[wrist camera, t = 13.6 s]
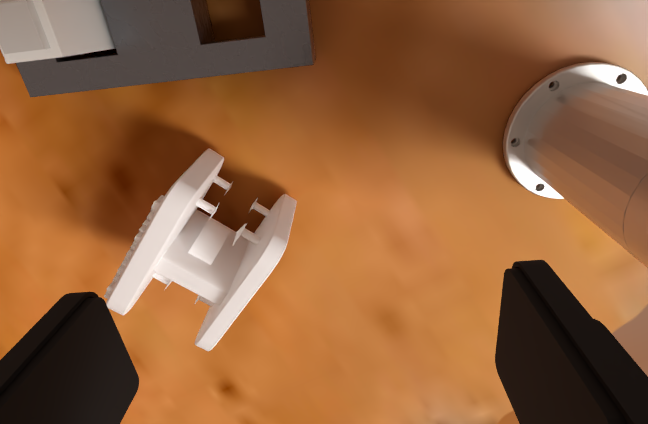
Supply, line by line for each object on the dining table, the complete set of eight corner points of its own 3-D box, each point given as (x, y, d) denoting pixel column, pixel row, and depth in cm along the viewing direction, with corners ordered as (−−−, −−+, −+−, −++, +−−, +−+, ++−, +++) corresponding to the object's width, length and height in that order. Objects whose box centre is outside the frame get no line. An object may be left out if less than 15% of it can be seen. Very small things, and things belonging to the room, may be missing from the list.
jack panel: (299, -83, 31) (293, -96, 27) (315, 59, 35) (312, 65, 31) (9, -41, 33) (-34, -48, 29) (60, 88, 37) (28, 97, 33)
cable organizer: (232, 288, 47) (201, 367, 37) (149, 243, 45) (91, 314, 34) (301, 193, 41) (288, 255, 31) (210, 136, 39) (162, 181, 28)
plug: (114, -17, 33) (24, -28, 24) (133, 45, 35) (57, 57, 26) (69, -11, 33) (-38, -20, 24) (90, 50, 36) (0, 65, 26)
